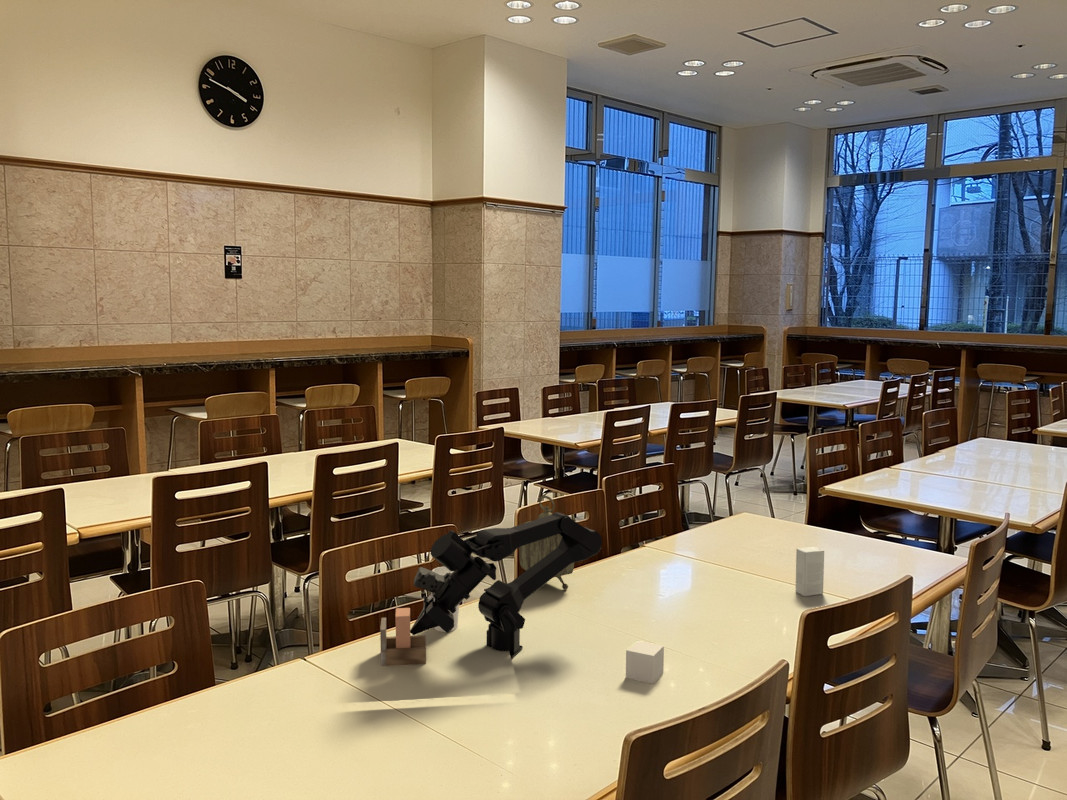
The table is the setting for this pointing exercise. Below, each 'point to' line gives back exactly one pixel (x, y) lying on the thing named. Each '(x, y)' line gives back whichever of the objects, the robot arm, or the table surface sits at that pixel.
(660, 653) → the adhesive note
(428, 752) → the table surface
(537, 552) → the tabletop clock
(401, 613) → the salmon pink block
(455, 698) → the table surface
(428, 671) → the table surface
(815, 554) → the skincare box
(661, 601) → the table surface
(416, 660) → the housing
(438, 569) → the drinking glass
